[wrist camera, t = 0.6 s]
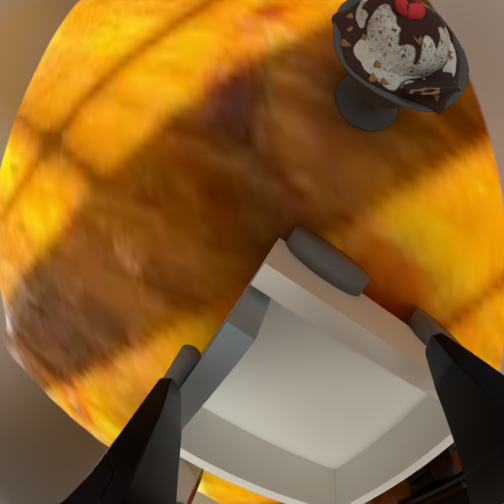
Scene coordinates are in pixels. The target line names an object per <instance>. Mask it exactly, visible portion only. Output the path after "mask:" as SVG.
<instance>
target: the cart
mask: <svg viewBox="0 0 504 504" xmlns="http://www.w3.org/2000/svg"><path fill="white" fill-rule="evenodd" d="M260 267H261V268H260V269H258V270H259V271H258V273H257V272H256V273H257V274H256V276H255V275H254V276H255V278H254V279H253V278H252V279H253V281H252V283H251V284H250V285H252V286H254V287H255V288H257V289H258V290H260V291H261V292H263V293H264V294H266V295H267V296H269V297H270V298H271V299H270V302H269V304H268V307H267V310H266V313H265V316H264V318H263V321H262V324H261V327H260V329H259V332H258V335H257V338H256V340H255V341H254V343H253V344H252V345H251V347H250V348H249V349H248V350H247V352H246V353H245V354H244V355H243V357H242V358H241V359H240V361H239V362H238V363H237V364H236V366H235V367H234V368H233V369H232V371H231V372H230V373H229V374H228V376H227V377H226V378H225V379H224V380H223V382H222V383H221V384H220V385H219V387H218V388H217V389H216V390H215V391H214V393H213V394H212V395H211V396H210V397H209V399H208V400H207V401H206V402H205V403H204V405H203V406H202V407H201V408H200V409H199V411H198V412H197V413H196V414H195V415H194V416H193V418H192V419H191V420H190V421H189V422H188V423H187V425H186V426H185V427H184V428H183V429H182V437H181V448H180V457H182V458H183V459H185V460H187V461H189V462H191V463H192V464H194V465H196V466H198V467H200V468H202V469H204V470H206V471H208V472H210V473H212V474H214V475H216V476H218V477H220V478H222V479H224V480H227V481H229V482H231V483H233V484H236V485H238V486H240V487H243V488H245V489H247V490H250V491H252V492H255V493H257V494H260V495H262V496H265V497H268V498H271V499H273V500H276V501H279V502H282V503H285V504H364V503H365V502H367V501H369V500H371V499H373V498H375V497H376V496H378V495H380V494H381V493H383V492H385V491H387V490H388V489H390V488H391V487H393V486H395V485H396V484H398V483H399V482H401V481H402V480H404V479H406V478H407V477H408V476H410V475H411V474H413V473H414V472H416V471H417V470H419V469H420V468H421V467H423V466H424V465H426V464H427V463H428V462H430V461H431V460H432V459H433V458H435V457H436V456H437V455H439V454H440V453H441V452H442V451H444V450H445V449H446V448H447V447H449V446H450V445H451V444H452V443H453V442H454V440H453V437H452V434H451V431H450V428H449V425H448V423H447V420H446V417H445V414H444V411H443V409H442V406H441V403H440V401H439V398H438V395H437V393H436V390H435V386H434V383H433V379H432V376H431V372H430V369H429V365H428V362H427V359H426V355H425V349H426V347H427V344H428V341H429V339H430V336H431V335H433V334H436V333H439V332H441V333H443V334H445V335H446V336H448V337H449V338H451V339H452V340H454V341H455V342H457V343H458V344H460V343H459V342H458V341H457V340H456V339H455V338H454V337H453V336H452V335H451V334H450V333H449V332H448V331H447V330H446V329H445V328H444V327H443V326H442V325H441V324H440V323H438V322H437V321H436V320H435V319H434V318H432V317H431V316H430V315H428V314H427V313H426V312H424V311H423V310H421V309H419V308H417V309H416V310H415V311H414V313H413V314H412V315H411V317H410V318H409V319H408V320H407V323H408V325H409V326H408V325H407V324H405V323H404V322H402V321H401V320H399V319H398V318H397V317H395V316H394V315H392V314H391V313H390V312H388V311H387V310H385V309H384V308H382V307H381V306H380V305H378V304H377V303H375V302H374V301H372V300H371V299H370V298H368V297H367V296H365V295H364V294H362V291H363V290H364V289H365V287H366V286H367V285H368V283H369V282H370V281H371V278H370V277H369V275H368V274H367V273H366V272H365V271H364V270H363V269H362V268H361V267H360V266H359V265H358V264H357V263H356V262H354V261H353V260H352V259H351V258H350V257H348V256H347V255H346V254H345V253H343V252H342V251H341V250H339V249H338V248H336V247H335V246H334V245H332V244H331V243H329V242H328V241H326V240H325V239H323V238H322V237H320V236H318V235H317V234H315V233H313V232H311V231H309V230H308V229H305V228H303V227H300V226H296V227H295V229H294V230H293V232H292V233H291V235H290V236H289V238H288V239H287V241H286V242H285V241H284V240H282V239H281V238H279V239H278V240H277V242H276V243H275V245H274V246H273V248H272V249H271V251H270V253H269V254H268V256H267V257H266V259H265V260H264V262H263V263H262V266H260ZM250 282H251V281H250ZM248 285H249V284H248ZM246 288H247V287H246ZM244 291H245V290H244ZM242 294H243V293H242ZM240 297H241V296H240ZM238 300H239V299H238ZM236 303H237V302H236ZM234 306H235V305H234ZM232 309H233V308H232ZM230 312H231V311H230ZM228 315H229V314H228ZM226 318H227V317H226ZM224 321H225V320H224ZM222 324H223V323H222ZM222 324H221V325H222ZM219 328H220V327H219ZM217 331H218V330H217ZM215 334H216V333H215ZM213 337H214V336H213ZM211 340H212V339H211ZM209 343H210V342H209ZM460 345H461V344H460ZM207 346H208V345H207ZM461 346H462V345H461ZM205 349H206V348H205ZM203 352H204V351H203ZM203 352H202V353H203Z"/></svg>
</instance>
